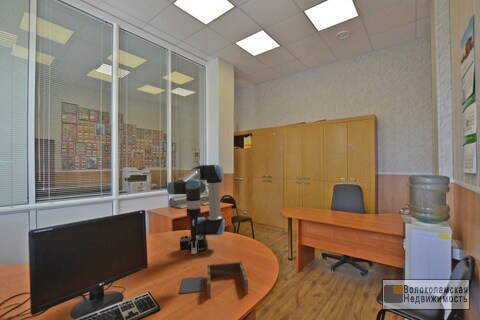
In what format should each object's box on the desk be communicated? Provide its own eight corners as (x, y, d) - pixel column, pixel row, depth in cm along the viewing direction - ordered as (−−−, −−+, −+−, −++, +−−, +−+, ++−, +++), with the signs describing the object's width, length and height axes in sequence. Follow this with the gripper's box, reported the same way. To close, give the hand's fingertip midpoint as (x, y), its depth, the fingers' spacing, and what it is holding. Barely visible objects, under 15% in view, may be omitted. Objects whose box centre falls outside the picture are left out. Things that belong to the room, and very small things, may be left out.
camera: (179, 255, 111) (180, 238, 111) (179, 249, 119) (180, 233, 119) (204, 254, 115) (205, 237, 115) (203, 248, 122) (204, 232, 122)
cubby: (207, 277, 125) (207, 264, 125) (241, 273, 128) (241, 261, 128) (207, 298, 105) (207, 283, 105) (248, 293, 108) (247, 279, 108)
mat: (182, 279, 123) (182, 278, 123) (204, 277, 124) (204, 276, 124) (179, 294, 109) (179, 292, 109) (203, 291, 111) (203, 290, 111)
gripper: (187, 204, 127) (188, 243, 126) (184, 212, 107) (185, 259, 106) (200, 204, 128) (201, 242, 128) (200, 211, 108) (201, 257, 108)
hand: (194, 250), depth 117 cm, fingers closed on camera, 8 cm apart
